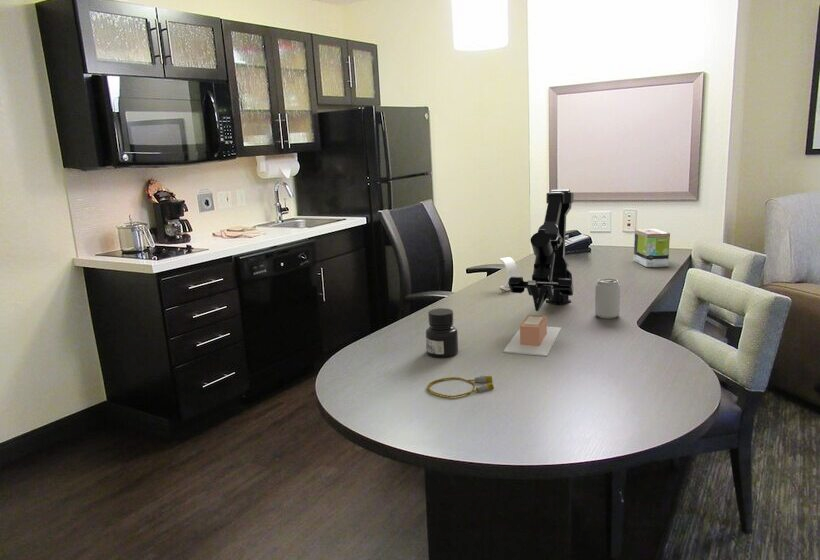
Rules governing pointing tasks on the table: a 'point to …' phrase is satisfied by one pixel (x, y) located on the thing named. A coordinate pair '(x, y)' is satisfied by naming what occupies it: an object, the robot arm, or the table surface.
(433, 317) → the ink bottle
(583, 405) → the table surface
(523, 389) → the table surface
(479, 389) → the extension cord
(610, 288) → the can
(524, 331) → the block
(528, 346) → the mat
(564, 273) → the robot arm
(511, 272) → the headphone stand
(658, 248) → the tea box
